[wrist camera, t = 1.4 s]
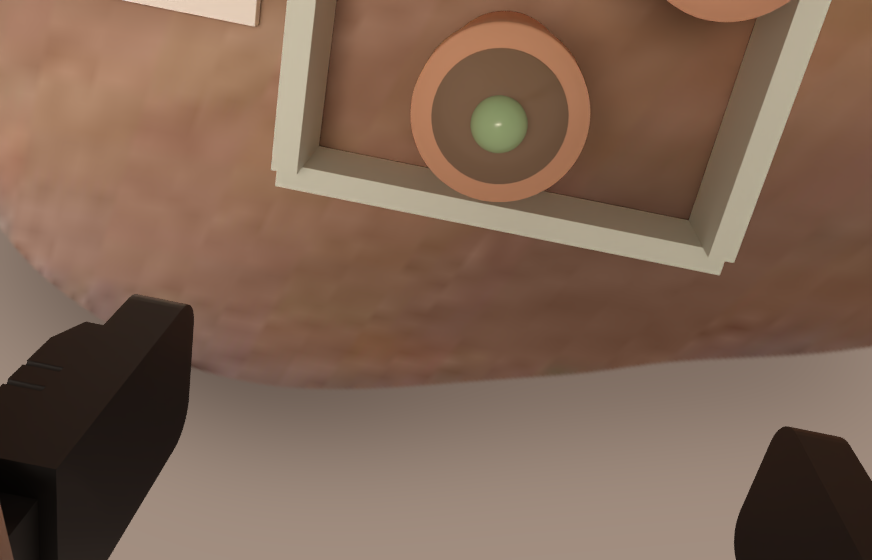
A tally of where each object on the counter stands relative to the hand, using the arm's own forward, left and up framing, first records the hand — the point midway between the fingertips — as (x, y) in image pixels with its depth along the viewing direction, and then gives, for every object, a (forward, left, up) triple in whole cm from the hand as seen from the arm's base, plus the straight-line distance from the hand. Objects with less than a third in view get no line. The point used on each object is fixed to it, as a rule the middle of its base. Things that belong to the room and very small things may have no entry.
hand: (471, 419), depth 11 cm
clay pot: (0, 0, -24) cm, 24 cm away
